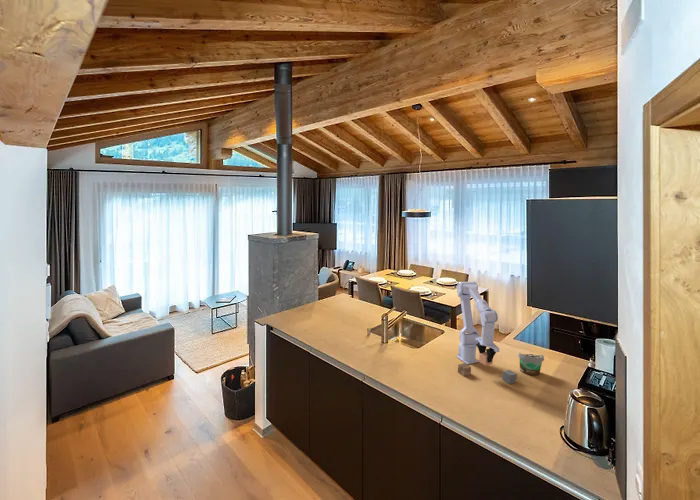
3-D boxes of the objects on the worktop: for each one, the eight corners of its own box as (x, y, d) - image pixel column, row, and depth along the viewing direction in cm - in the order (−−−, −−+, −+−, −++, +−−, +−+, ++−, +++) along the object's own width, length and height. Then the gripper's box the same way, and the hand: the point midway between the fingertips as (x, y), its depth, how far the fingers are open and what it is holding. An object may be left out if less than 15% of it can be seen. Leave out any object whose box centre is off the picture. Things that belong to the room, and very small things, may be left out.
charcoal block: (502, 379, 176) (502, 371, 175) (509, 378, 177) (509, 369, 177) (509, 384, 172) (509, 375, 171) (516, 382, 173) (516, 373, 172)
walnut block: (457, 372, 183) (458, 364, 182) (464, 370, 184) (465, 362, 184) (463, 376, 179) (463, 368, 178) (470, 374, 180) (471, 366, 179)
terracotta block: (479, 361, 179) (479, 353, 178) (486, 360, 180) (486, 351, 180) (485, 365, 175) (486, 357, 174) (492, 364, 176) (493, 355, 176)
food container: (520, 376, 179) (522, 357, 177) (516, 370, 185) (518, 352, 183) (546, 378, 177) (548, 359, 176) (541, 372, 183) (543, 354, 182)
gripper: (471, 330, 180) (469, 354, 183) (492, 341, 167) (490, 367, 169) (482, 328, 183) (480, 352, 185) (503, 338, 170) (501, 365, 172)
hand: (485, 359), depth 177 cm, fingers closed on terracotta block, 4 cm apart
